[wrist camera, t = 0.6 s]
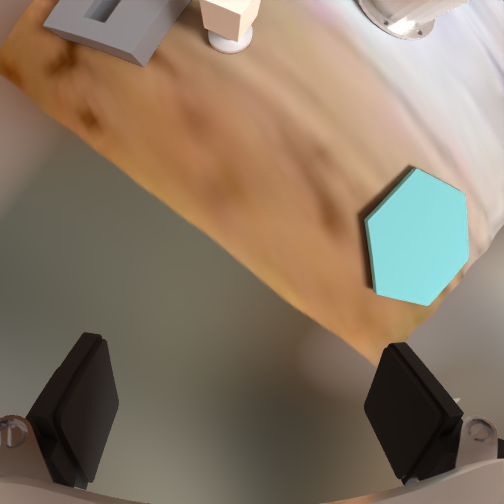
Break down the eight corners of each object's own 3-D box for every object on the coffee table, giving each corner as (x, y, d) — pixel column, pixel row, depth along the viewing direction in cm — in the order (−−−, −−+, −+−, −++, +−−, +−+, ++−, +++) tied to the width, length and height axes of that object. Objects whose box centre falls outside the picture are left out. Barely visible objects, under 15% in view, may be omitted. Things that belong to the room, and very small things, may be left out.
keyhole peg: (222, 13, 29) (222, -37, 18) (259, 30, 30) (272, -16, 19) (200, 43, 30) (190, 0, 19) (238, 61, 31) (243, 21, 20)
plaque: (429, 146, 37) (333, 244, 39) (438, 145, 35) (338, 247, 37) (478, 235, 41) (398, 324, 43) (486, 237, 39) (405, 330, 41)
